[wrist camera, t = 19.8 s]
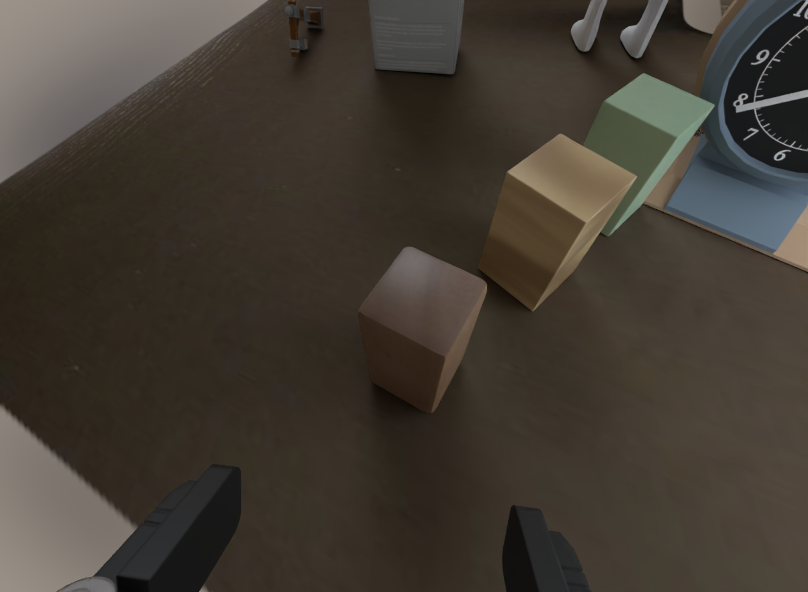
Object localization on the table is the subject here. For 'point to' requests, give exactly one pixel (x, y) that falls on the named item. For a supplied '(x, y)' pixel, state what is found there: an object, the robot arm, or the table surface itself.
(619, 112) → the line block
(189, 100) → the table surface
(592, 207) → the line block
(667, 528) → the table surface
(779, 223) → the alarm clock
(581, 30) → the toy character
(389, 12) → the cosmetic box
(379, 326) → the wooden block
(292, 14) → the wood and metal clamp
